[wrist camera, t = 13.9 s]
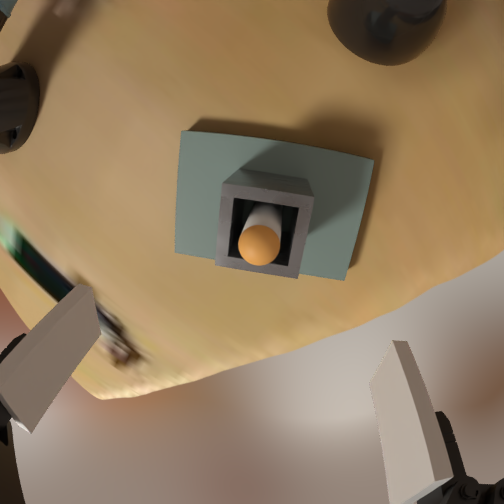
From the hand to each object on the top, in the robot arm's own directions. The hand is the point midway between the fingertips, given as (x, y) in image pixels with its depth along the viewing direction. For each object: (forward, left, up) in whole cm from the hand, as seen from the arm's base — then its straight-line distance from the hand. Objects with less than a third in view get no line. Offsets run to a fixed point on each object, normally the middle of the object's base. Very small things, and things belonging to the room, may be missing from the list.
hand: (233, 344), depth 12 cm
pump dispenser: (+8, +22, -23) cm, 33 cm away
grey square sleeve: (0, 0, -21) cm, 21 cm away
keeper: (0, 0, -23) cm, 23 cm away
